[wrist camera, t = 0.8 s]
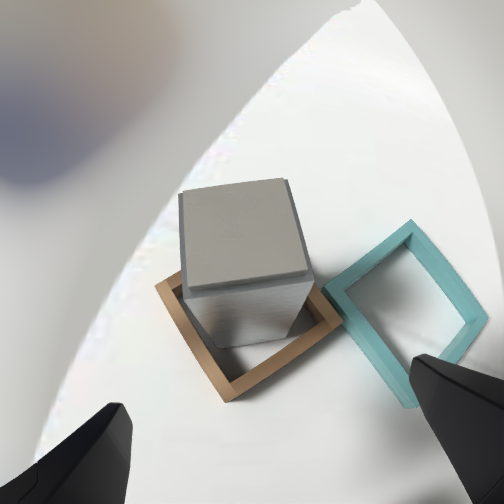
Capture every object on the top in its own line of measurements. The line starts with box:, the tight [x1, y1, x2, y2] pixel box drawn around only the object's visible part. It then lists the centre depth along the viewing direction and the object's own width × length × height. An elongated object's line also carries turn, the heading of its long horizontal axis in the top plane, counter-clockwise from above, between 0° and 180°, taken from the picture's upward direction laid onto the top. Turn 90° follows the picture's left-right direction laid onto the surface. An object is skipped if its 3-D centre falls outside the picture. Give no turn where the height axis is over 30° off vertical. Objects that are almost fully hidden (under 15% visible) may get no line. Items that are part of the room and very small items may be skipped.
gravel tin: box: [178, 178, 315, 349], centre depth 17 cm, size 5×5×12 cm
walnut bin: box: [155, 270, 344, 403], centre depth 22 cm, size 10×10×2 cm
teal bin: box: [321, 219, 489, 408], centre depth 22 cm, size 12×11×2 cm
